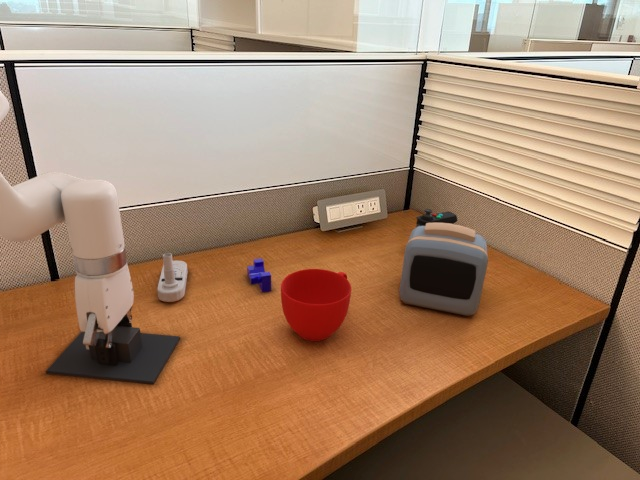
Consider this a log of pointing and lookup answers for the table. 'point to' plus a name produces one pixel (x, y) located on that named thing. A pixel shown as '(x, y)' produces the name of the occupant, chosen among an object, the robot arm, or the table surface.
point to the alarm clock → (444, 268)
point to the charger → (122, 343)
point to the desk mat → (138, 371)
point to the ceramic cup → (315, 302)
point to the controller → (436, 218)
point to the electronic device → (172, 279)
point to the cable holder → (259, 275)
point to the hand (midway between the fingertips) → (116, 351)
